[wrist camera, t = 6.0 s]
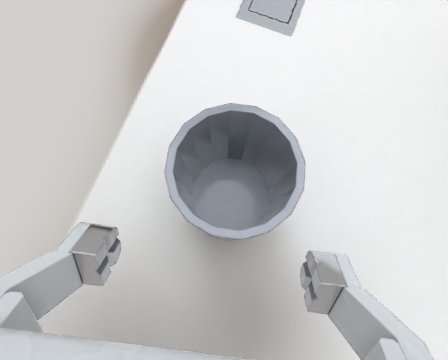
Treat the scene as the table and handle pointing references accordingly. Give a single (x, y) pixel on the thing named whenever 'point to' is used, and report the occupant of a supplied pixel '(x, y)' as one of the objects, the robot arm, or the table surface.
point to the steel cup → (235, 171)
